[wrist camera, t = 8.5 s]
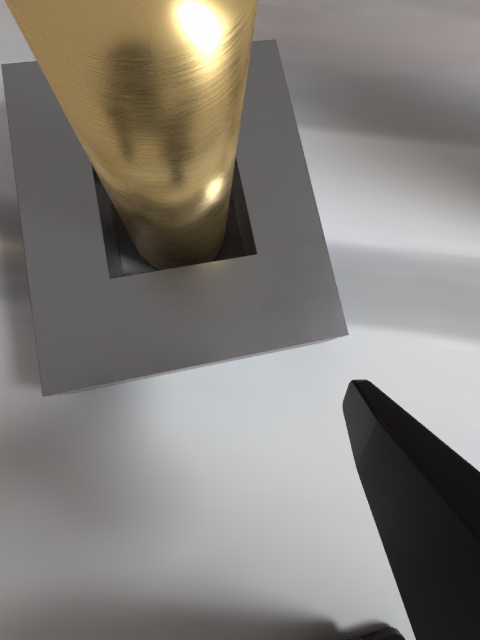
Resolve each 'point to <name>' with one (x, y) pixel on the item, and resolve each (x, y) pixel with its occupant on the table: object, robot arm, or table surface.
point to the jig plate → (177, 283)
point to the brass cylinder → (152, 108)
